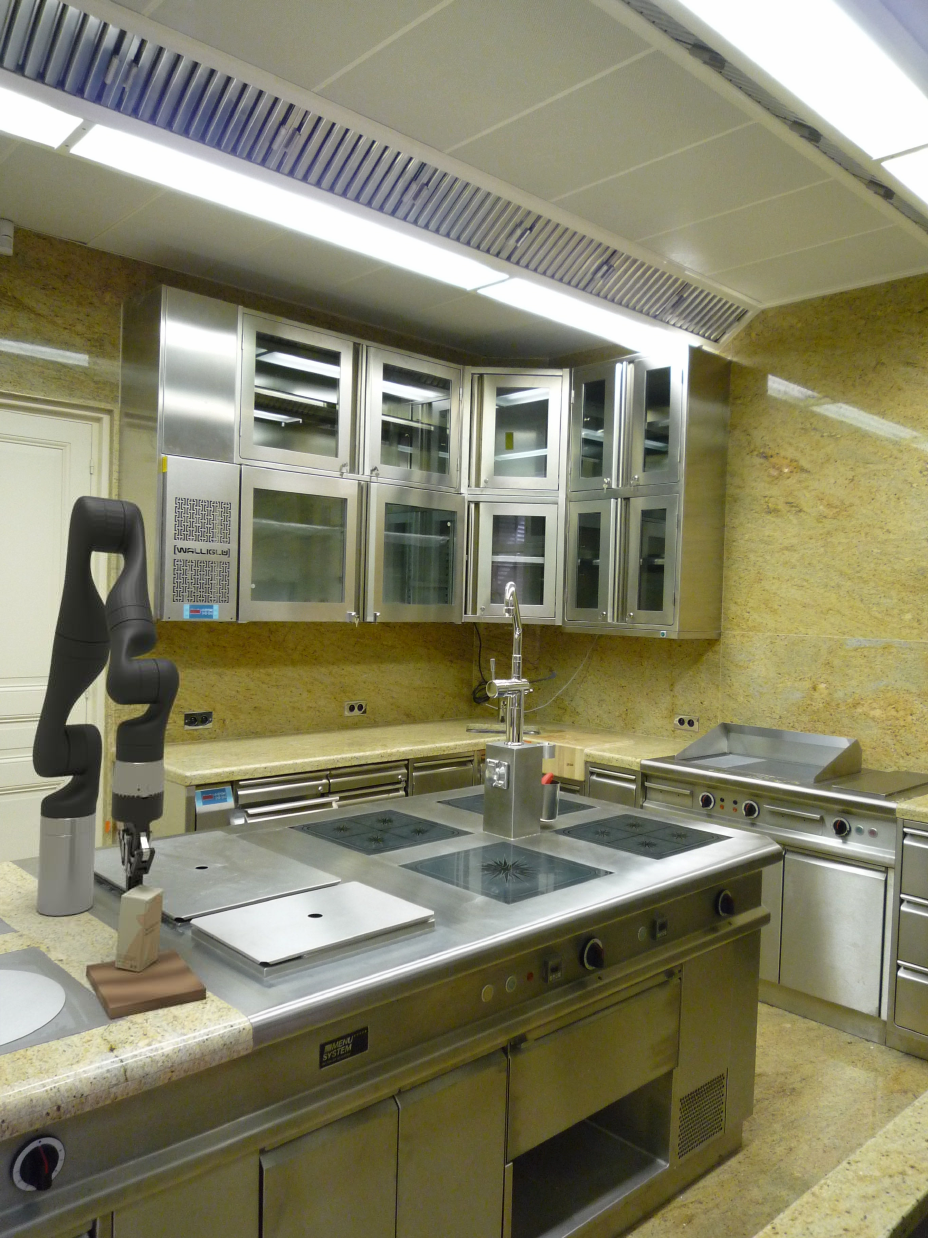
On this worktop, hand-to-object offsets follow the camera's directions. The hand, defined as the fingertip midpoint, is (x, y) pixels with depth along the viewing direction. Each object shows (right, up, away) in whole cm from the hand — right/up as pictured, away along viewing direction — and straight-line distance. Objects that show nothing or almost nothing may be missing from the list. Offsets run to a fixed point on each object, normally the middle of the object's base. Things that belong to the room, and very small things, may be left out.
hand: (133, 898), depth 136 cm
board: (+4, -11, -8) cm, 14 cm away
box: (+2, -9, -4) cm, 10 cm away
